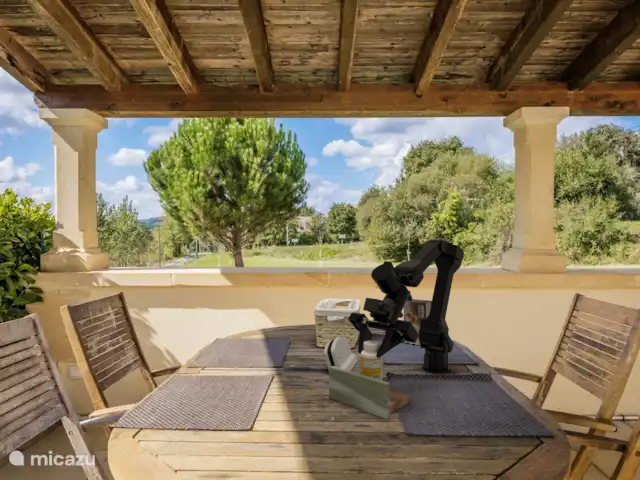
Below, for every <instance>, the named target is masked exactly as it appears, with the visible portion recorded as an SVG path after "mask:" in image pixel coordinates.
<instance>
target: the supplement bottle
mask: <svg viewBox="0 0 640 480" xmlns="http://www.w3.org/2000/svg"><path fill="white" fill-rule="evenodd" d="M380 345H381V343H380V342H379V341H377V340H371V341H365V342H364V350H363V351H362V352H361V354H360V374H362V375H365V376H368V377H372V378H375V379H378V380H382V381H383V356H381V357H380V358H377V356H376V355H377V352H378V349H379V347H380Z"/></svg>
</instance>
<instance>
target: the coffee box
mask: <svg viewBox="0 0 640 480" xmlns="http://www.w3.org/2000/svg"><path fill="white" fill-rule="evenodd" d="M431 302H432V300H426V299H415V298H412V301H406V303H405V306H404V308H403V320H404V321H409V322H411V323H412V325H413V326H414V328H415V329H416V331H417V332H418V333H419V329H420V324H421V320H422V319H426V318H427V317H428V316H429V313H430V308H431ZM403 340H404V343H403V344H405V343H409V344H408V345H412V344H415V345H414V346H418V345H420V342H419V338H417V340H416V342H415V343H412V342H408V341H405V339H403Z"/></svg>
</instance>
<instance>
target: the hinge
mask: <svg viewBox="0 0 640 480" xmlns="http://www.w3.org/2000/svg"><path fill="white" fill-rule="evenodd" d="M323 356H324V359H325V363H326V366H327V370H328V371H329V367H331V366H335V367H338V368H342V369H345V370H348V371H351V370H352V369H353V367H354V366H355V365H356V363H357V362H358V358H357V354H355V353H353V352H352V348H350V347H349V344H348V342H347V340H346V338H345V337H338V338H334V339H332V340H330V341H329V342H328V343H327V344H326V346H325V347H324V350H323Z"/></svg>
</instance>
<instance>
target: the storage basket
mask: <svg viewBox="0 0 640 480" xmlns="http://www.w3.org/2000/svg"><path fill="white" fill-rule="evenodd" d="M361 302H362V301H361V298H327V297H326V298H324V299H321V300H320V301H319V302H318V303H317V305H316V306H315V307H314V312H313V313H314V314H313V315H314V323H315V333H316V334H315V336H316V337H315V339H316V346H317V347H319V348H325V346H326V344H327V343H328V342H329V341H330V340H332V339H334V338H338V337H345V338H346V340H347V342H348V344H349V347H350V349H353V348H355V347H356V344H357V342H358V340H359V335H360V332H359V331H357V330H356V329H355V328H354V326H353V325H352V324H351V323H350V321H349V320H348V318H349V316H350V315H351V313H353V312H357V313H361V312H360V310H361V307H362V306H361ZM337 307H344V308H337Z"/></svg>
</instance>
